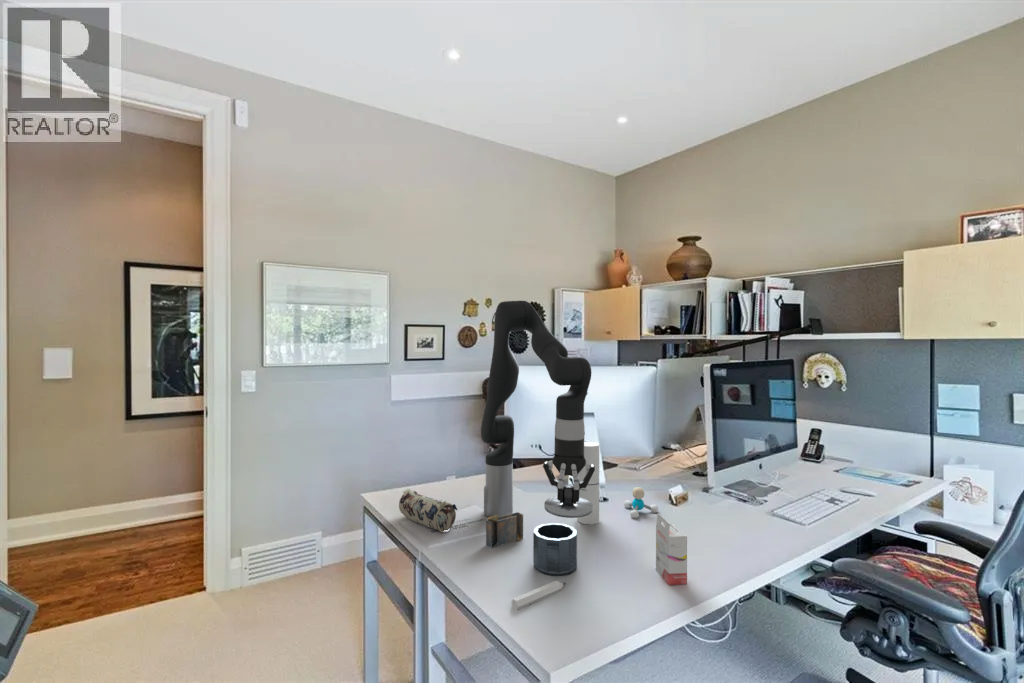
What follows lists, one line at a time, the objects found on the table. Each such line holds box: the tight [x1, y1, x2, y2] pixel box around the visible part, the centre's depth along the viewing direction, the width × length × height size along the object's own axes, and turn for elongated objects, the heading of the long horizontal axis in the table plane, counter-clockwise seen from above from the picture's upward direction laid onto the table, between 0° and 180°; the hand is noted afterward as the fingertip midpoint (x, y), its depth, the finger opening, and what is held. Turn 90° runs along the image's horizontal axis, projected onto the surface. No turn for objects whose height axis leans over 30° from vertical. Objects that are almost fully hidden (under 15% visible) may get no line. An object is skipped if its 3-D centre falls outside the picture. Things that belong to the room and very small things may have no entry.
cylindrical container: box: [576, 441, 600, 525], centre depth 158 cm, size 7×7×25 cm
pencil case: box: [398, 488, 458, 533], centre depth 155 cm, size 22×8×10 cm, turn 48°
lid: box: [544, 484, 593, 519], centre depth 123 cm, size 12×12×6 cm
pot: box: [532, 522, 578, 577], centre depth 126 cm, size 11×14×9 cm
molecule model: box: [623, 486, 659, 519], centre depth 166 cm, size 12×12×9 cm
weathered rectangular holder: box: [485, 511, 524, 549], centre depth 141 cm, size 11×3×10 cm, turn 125°
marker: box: [511, 580, 567, 611], centre depth 111 cm, size 3×2×16 cm
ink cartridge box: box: [655, 512, 688, 586], centre depth 120 cm, size 9×5×15 cm, turn 5°
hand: (568, 502), depth 123 cm, fingers closed on lid, 3 cm apart
